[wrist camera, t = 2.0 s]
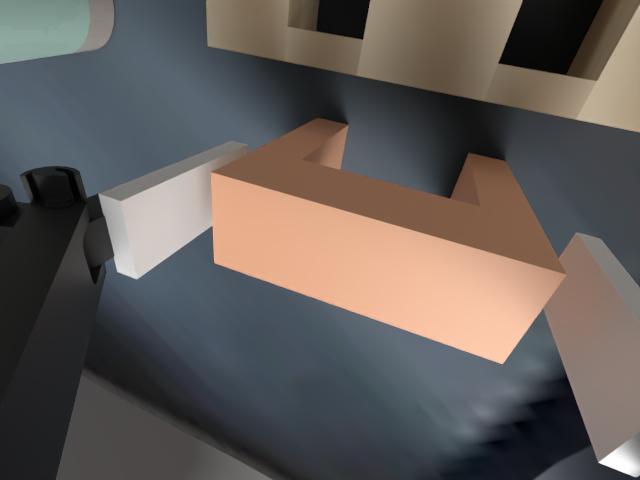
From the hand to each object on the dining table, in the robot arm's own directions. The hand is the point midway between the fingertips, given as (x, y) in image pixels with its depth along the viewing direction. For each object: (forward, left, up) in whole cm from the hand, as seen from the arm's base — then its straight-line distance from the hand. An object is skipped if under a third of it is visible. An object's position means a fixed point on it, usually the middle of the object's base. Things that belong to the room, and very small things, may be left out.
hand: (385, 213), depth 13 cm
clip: (0, 0, -6) cm, 6 cm away
